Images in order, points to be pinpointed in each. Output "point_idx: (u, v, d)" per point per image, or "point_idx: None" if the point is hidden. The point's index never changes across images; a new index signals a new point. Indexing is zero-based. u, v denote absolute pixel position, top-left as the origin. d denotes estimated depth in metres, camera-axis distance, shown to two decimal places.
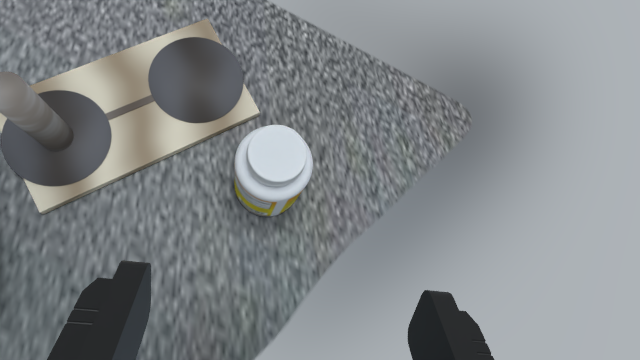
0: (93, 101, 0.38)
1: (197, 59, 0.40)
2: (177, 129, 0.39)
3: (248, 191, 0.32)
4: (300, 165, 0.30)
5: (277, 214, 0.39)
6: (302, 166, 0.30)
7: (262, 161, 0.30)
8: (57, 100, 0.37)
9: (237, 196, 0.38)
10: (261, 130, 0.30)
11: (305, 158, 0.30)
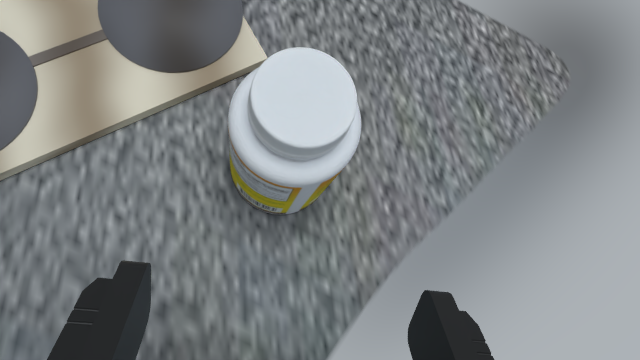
0: (10, 38, 0.24)
1: None
2: (142, 82, 0.25)
3: (252, 169, 0.18)
4: (346, 118, 0.17)
5: (296, 211, 0.25)
6: (350, 120, 0.17)
7: (277, 110, 0.16)
8: None
9: (234, 183, 0.24)
10: (275, 56, 0.17)
11: (354, 106, 0.17)
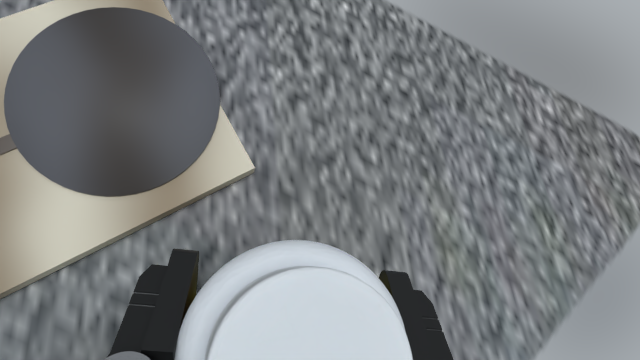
0: None
1: (121, 55, 0.19)
2: (67, 213, 0.17)
3: None
4: None
5: None
6: None
7: None
8: None
9: None
10: (255, 293, 0.09)
11: None
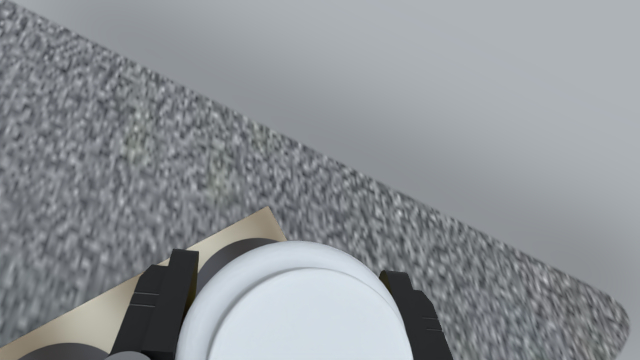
0: None
1: None
2: None
3: None
4: None
5: None
6: None
7: None
8: None
9: None
10: (256, 294, 0.09)
11: None
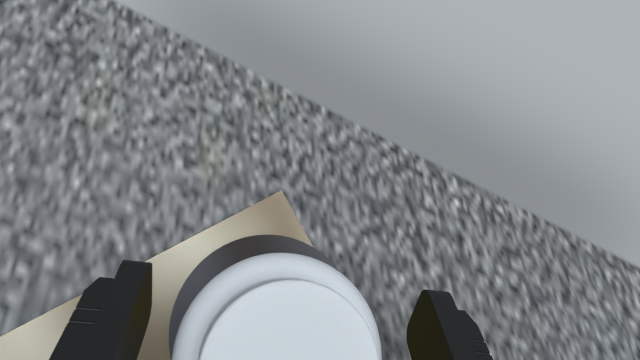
0: None
1: None
2: None
3: None
4: None
5: None
6: None
7: None
8: None
9: None
10: (241, 303, 0.10)
11: None
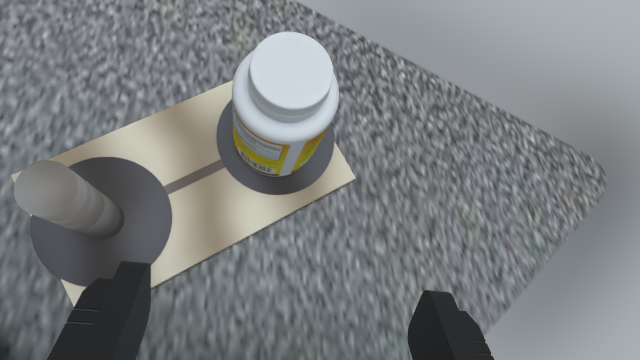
0: (148, 170, 0.29)
1: None
2: (255, 204, 0.30)
3: (250, 128, 0.23)
4: (324, 87, 0.21)
5: (288, 173, 0.30)
6: (327, 89, 0.21)
7: (270, 79, 0.21)
8: (102, 170, 0.29)
9: (236, 149, 0.29)
10: (269, 38, 0.21)
11: (331, 78, 0.22)
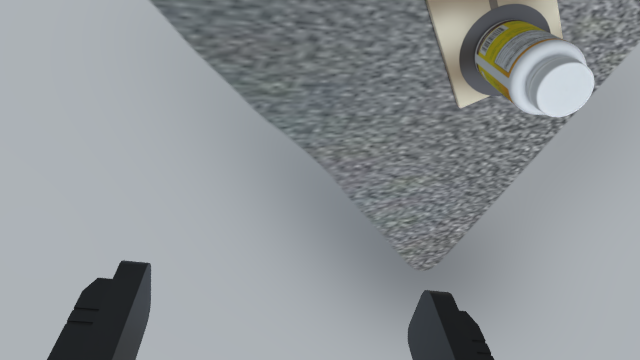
0: None
1: None
2: (457, 32, 0.39)
3: (527, 52, 0.32)
4: (546, 110, 0.32)
5: (476, 61, 0.39)
6: (545, 112, 0.32)
7: (562, 75, 0.31)
8: None
9: (505, 23, 0.38)
10: (592, 77, 0.31)
11: (551, 115, 0.32)
